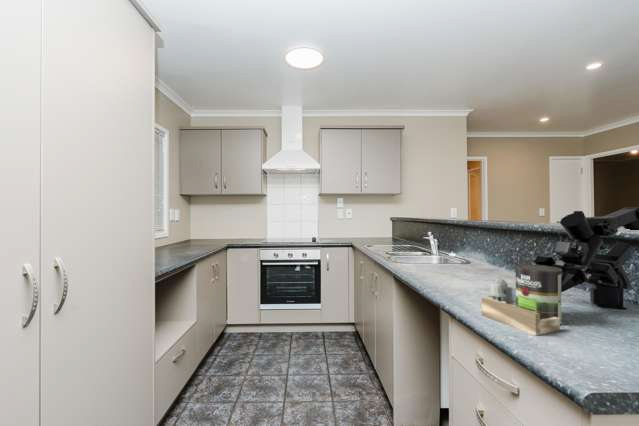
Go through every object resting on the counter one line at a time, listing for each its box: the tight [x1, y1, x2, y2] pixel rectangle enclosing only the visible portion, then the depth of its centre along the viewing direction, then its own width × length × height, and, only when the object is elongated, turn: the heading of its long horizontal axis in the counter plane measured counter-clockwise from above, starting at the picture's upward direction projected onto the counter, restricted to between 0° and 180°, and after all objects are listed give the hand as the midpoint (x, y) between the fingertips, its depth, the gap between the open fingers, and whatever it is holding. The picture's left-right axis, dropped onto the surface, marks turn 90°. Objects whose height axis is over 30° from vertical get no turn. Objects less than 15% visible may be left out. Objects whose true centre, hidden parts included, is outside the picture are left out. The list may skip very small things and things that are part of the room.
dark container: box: [514, 263, 563, 325], centre depth 81 cm, size 10×10×14 cm
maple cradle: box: [480, 296, 561, 336], centre depth 78 cm, size 8×15×5 cm, turn 20°
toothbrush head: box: [486, 277, 508, 302], centre depth 104 cm, size 5×7×25 cm
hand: (559, 291), depth 84 cm, fingers closed
